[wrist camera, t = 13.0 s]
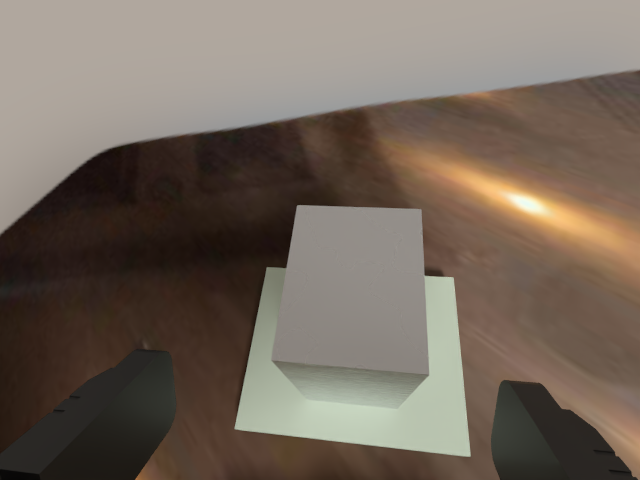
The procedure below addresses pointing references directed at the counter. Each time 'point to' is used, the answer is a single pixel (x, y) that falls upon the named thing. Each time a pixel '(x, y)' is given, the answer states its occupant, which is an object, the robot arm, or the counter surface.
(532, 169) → the counter surface
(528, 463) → the robot arm
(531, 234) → the counter surface
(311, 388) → the grey upright block
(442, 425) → the pad
